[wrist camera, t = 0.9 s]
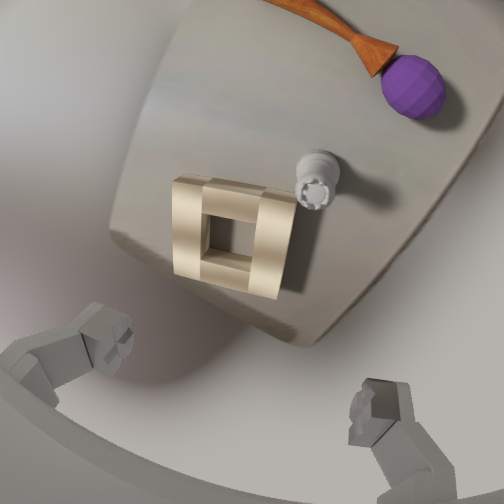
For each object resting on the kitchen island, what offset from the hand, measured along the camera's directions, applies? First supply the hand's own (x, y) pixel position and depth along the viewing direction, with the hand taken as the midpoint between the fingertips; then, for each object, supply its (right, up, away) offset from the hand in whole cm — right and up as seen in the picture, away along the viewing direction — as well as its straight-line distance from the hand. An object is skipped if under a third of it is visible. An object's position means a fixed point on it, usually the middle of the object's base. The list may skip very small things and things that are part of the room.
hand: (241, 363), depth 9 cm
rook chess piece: (+7, +12, +20) cm, 24 cm away
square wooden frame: (-2, +6, +26) cm, 27 cm away
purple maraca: (+10, +24, +13) cm, 28 cm away
